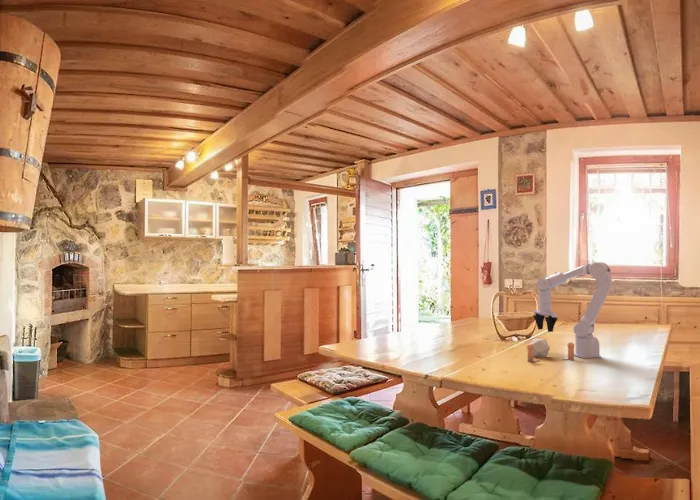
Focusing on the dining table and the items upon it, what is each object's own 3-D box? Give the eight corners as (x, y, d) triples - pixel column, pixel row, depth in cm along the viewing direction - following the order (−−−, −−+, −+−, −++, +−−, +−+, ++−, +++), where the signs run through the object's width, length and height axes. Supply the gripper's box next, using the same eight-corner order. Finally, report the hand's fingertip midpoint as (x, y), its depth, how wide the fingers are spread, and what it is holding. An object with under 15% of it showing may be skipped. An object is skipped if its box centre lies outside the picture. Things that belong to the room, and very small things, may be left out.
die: (551, 357, 196) (538, 338, 201) (557, 351, 189) (544, 331, 194) (535, 364, 195) (522, 345, 200) (540, 358, 188) (527, 338, 193)
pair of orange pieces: (571, 358, 190) (571, 341, 190) (576, 360, 187) (575, 342, 188) (525, 360, 186) (525, 343, 186) (529, 362, 183) (529, 344, 183)
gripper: (528, 301, 215) (528, 328, 214) (547, 304, 201) (547, 333, 200) (540, 301, 216) (541, 328, 216) (560, 304, 202) (560, 332, 202)
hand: (545, 330), depth 208 cm, fingers open, 7 cm apart
